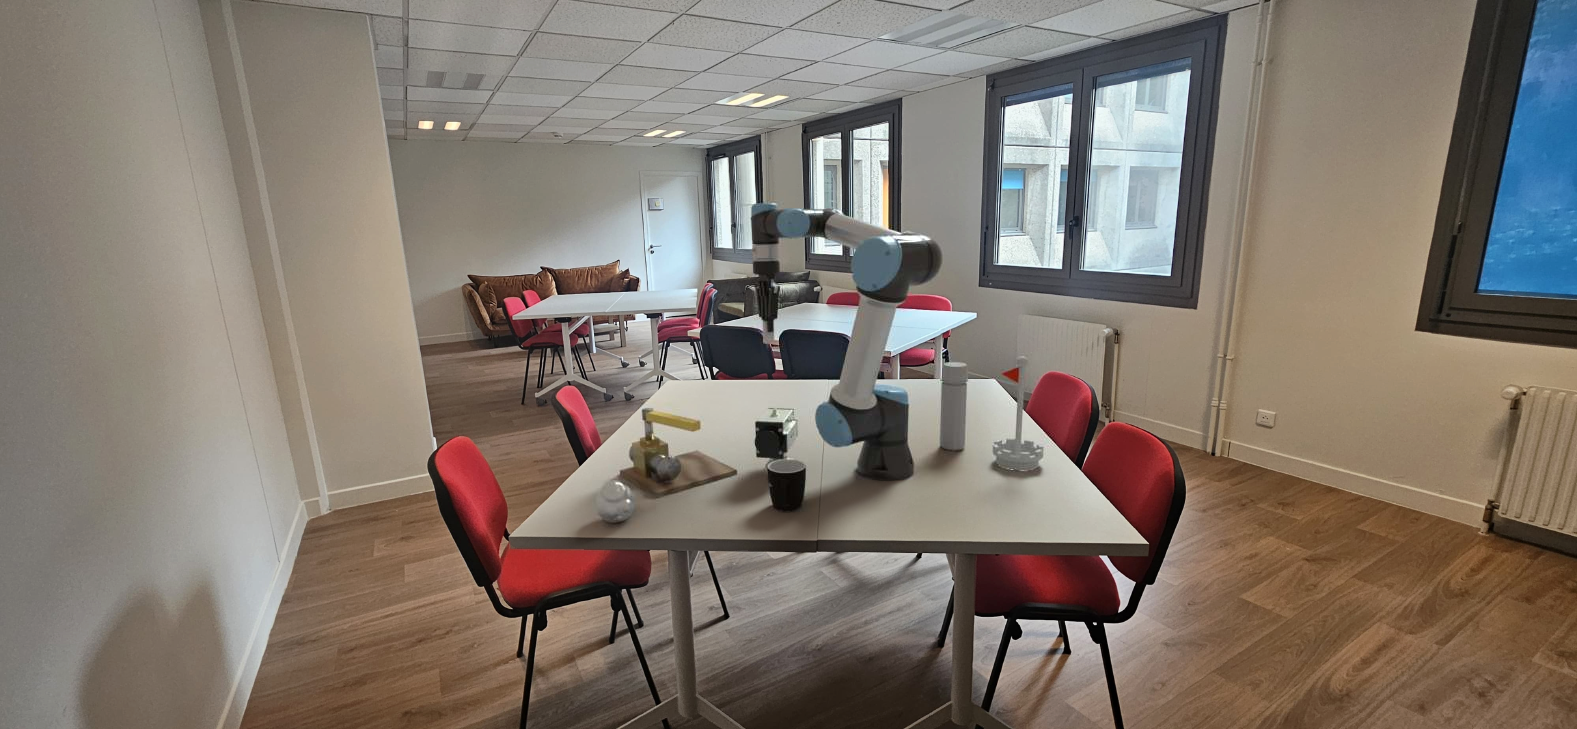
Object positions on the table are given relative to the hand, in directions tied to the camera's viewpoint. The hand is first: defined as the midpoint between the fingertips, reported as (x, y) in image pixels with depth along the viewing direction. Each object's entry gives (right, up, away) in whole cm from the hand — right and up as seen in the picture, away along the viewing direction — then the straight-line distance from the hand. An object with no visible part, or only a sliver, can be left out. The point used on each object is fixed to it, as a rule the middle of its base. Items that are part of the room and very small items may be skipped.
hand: (768, 343), depth 190 cm
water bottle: (+54, -31, +6) cm, 62 cm away
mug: (+5, -40, -35) cm, 53 cm away
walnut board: (-24, -36, -12) cm, 45 cm away
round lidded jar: (-33, -42, -39) cm, 67 cm away
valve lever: (-25, -21, -21) cm, 39 cm away
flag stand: (+68, -34, -9) cm, 76 cm away
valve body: (-30, -35, -14) cm, 48 cm away
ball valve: (+3, -36, -12) cm, 38 cm away
